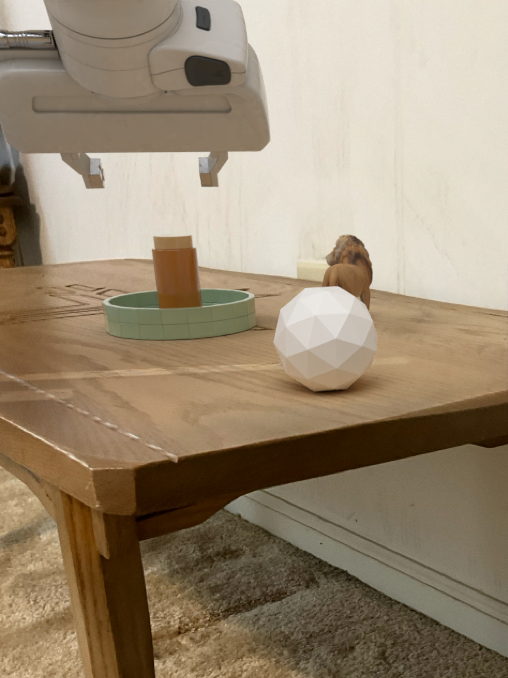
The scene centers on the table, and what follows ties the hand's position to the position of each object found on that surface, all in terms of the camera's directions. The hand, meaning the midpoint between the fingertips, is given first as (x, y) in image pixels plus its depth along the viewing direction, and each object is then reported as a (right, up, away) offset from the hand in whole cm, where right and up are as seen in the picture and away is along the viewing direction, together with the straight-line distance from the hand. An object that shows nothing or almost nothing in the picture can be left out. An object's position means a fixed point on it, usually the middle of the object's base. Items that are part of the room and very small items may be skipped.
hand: (153, 182), depth 72 cm
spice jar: (-2, -8, +16) cm, 18 cm away
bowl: (-2, -9, +17) cm, 19 cm away
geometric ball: (+16, -19, -7) cm, 25 cm away
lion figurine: (+15, -8, +19) cm, 26 cm away
